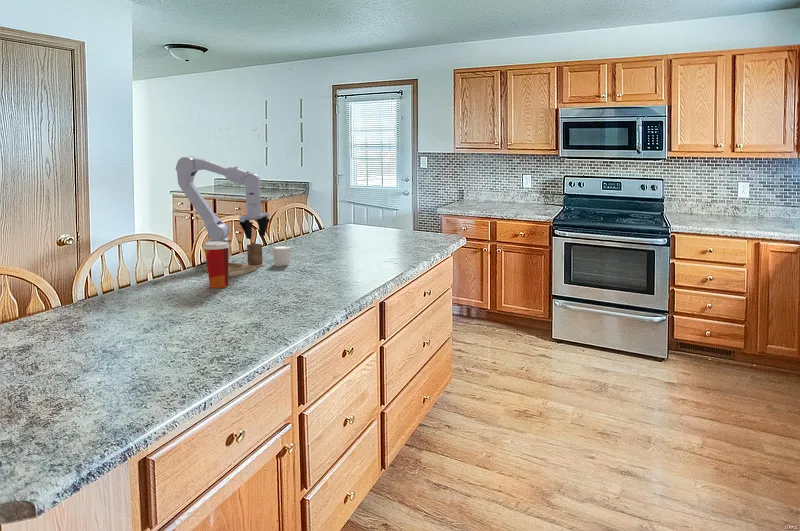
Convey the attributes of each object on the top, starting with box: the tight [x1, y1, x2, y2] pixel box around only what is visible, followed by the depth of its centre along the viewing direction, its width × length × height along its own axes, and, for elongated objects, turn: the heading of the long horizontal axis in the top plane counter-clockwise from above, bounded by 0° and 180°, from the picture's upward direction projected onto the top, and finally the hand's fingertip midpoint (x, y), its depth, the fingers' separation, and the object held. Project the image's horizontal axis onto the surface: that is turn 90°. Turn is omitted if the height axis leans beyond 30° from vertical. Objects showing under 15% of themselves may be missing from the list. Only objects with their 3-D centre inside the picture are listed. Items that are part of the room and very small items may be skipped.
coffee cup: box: [203, 241, 230, 289], centre depth 193 cm, size 8×8×15 cm
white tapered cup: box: [272, 245, 291, 267], centre depth 229 cm, size 7×7×7 cm
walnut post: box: [246, 243, 264, 266], centre depth 227 cm, size 4×4×8 cm
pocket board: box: [202, 261, 258, 277], centre depth 218 cm, size 16×12×2 cm
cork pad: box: [243, 262, 266, 268], centre depth 228 cm, size 8×8×1 cm
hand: (255, 237), depth 232 cm, fingers open, 7 cm apart
